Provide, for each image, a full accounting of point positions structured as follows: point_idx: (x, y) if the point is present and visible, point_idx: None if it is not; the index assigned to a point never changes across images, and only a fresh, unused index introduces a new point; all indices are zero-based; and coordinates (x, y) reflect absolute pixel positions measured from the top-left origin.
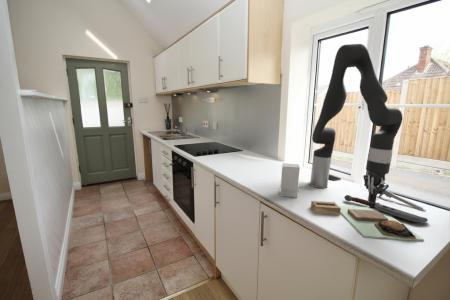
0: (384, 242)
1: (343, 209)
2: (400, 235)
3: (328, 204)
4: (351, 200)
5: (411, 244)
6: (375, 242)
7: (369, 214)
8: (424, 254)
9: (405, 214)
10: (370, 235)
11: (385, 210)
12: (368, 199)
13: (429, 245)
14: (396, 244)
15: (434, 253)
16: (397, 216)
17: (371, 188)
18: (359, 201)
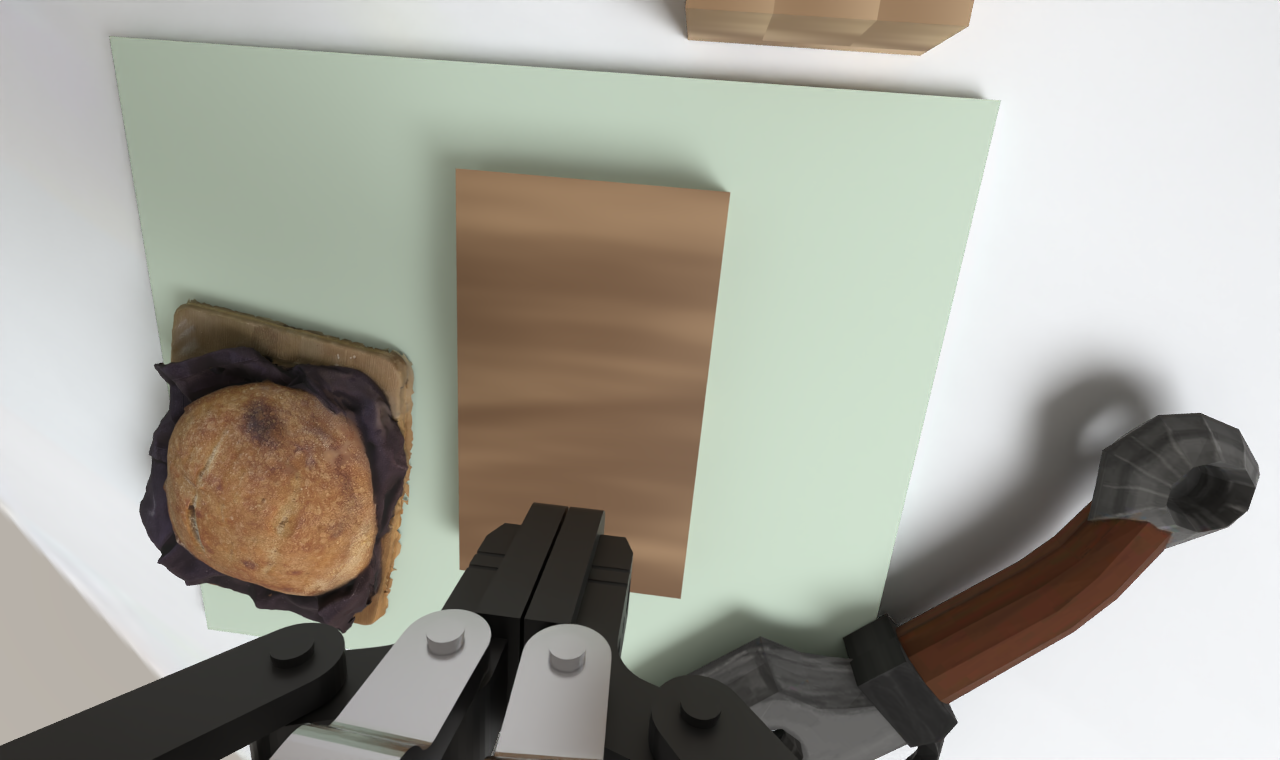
0: (91, 230)
1: (830, 185)
2: (151, 446)
3: None
4: (1097, 488)
5: (133, 474)
6: (60, 123)
7: (560, 419)
8: (5, 461)
9: None
10: (137, 131)
11: None
12: (584, 519)
13: (162, 609)
14: (90, 332)
15: (48, 551)
16: None
17: (433, 724)
18: (1020, 573)
